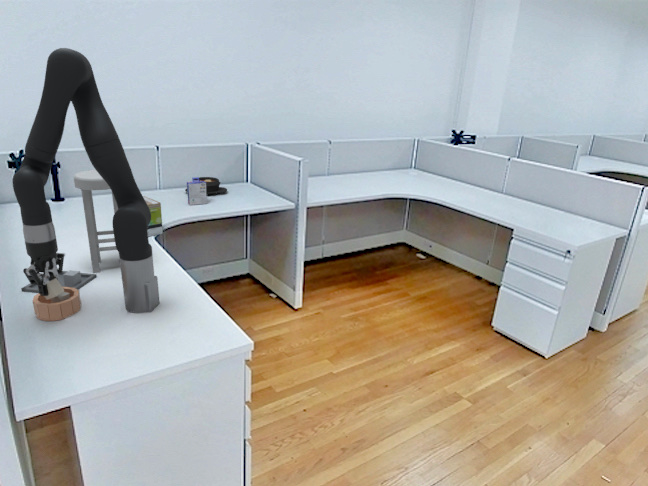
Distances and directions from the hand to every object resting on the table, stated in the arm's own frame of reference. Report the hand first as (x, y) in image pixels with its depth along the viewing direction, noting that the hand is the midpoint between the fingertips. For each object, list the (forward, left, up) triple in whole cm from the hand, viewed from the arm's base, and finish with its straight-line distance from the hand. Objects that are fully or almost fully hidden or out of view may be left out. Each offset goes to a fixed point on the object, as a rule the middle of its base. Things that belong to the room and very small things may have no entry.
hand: (49, 292), depth 132 cm
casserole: (+10, -150, -7) cm, 150 cm away
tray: (+10, -18, -7) cm, 21 cm away
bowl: (-1, -2, -7) cm, 7 cm away
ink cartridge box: (+6, -126, -7) cm, 126 cm away
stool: (+3, -36, -7) cm, 36 cm away
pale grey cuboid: (-1, -2, -6) cm, 7 cm away
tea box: (+10, -75, -7) cm, 75 cm away
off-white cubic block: (-2, 0, -1) cm, 2 cm away
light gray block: (+6, -18, -7) cm, 20 cm away
